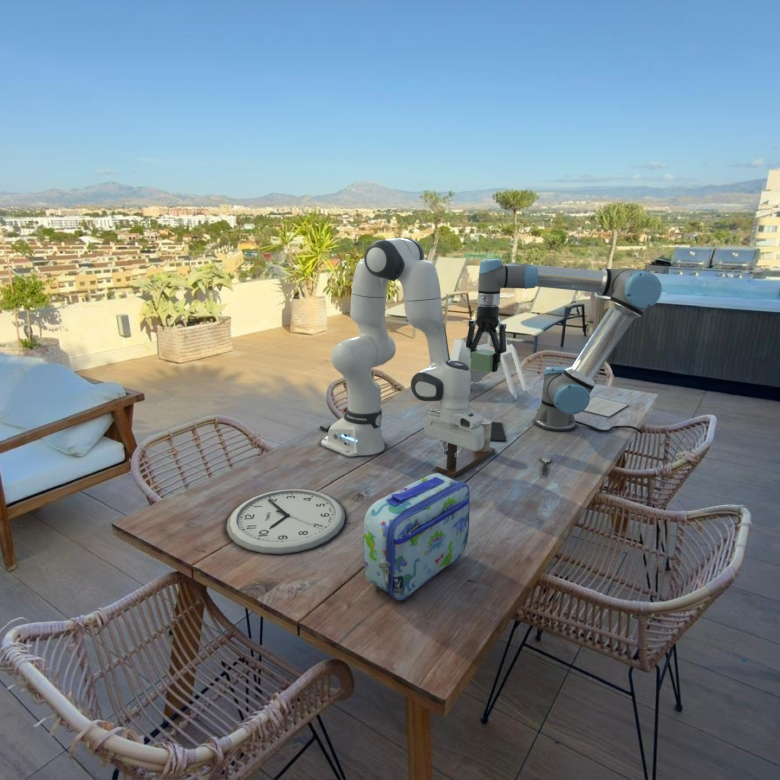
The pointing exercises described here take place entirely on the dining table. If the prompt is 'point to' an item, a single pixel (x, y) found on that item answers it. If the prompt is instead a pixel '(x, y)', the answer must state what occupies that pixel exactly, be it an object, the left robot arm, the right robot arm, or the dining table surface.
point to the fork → (545, 461)
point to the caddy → (467, 455)
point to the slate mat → (497, 432)
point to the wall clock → (285, 521)
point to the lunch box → (415, 534)
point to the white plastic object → (463, 355)
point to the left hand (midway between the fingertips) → (451, 455)
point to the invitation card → (604, 406)
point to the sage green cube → (482, 360)
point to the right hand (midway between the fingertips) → (484, 369)
